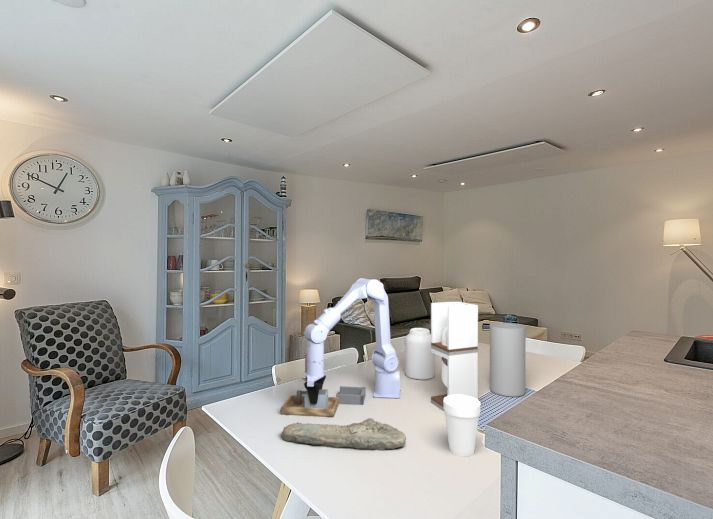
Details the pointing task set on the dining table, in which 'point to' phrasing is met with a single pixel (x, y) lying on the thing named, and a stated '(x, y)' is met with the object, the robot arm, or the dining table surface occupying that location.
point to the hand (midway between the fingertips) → (315, 400)
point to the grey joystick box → (321, 401)
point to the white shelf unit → (456, 347)
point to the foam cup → (461, 423)
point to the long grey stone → (346, 435)
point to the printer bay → (352, 395)
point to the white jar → (419, 354)
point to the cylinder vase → (507, 359)
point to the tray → (294, 409)
